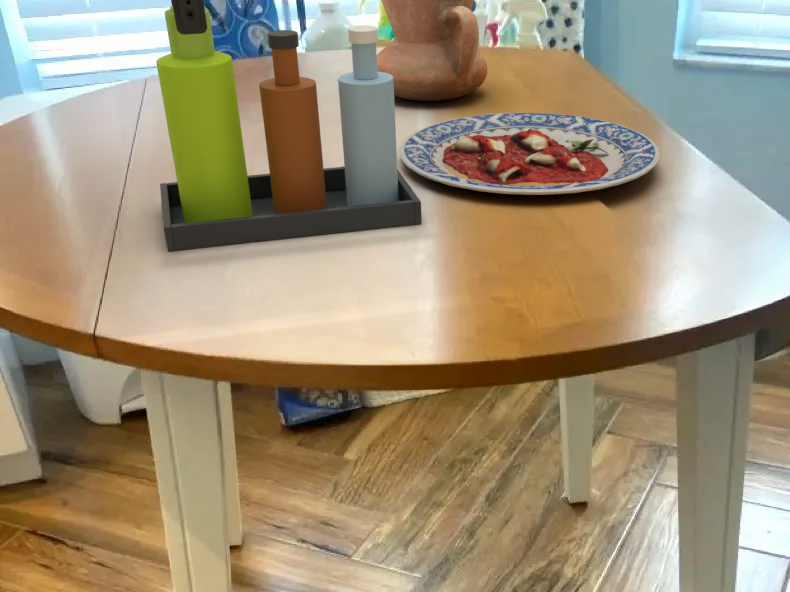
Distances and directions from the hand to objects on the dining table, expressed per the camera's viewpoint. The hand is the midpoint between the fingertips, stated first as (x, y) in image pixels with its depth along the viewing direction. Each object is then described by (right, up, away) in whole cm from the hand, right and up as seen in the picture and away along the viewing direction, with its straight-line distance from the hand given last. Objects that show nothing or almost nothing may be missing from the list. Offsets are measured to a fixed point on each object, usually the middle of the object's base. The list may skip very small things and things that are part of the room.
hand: (189, 22), depth 74 cm
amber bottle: (+7, -12, +11) cm, 17 cm away
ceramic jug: (+17, +12, +47) cm, 51 cm away
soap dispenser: (0, -13, +10) cm, 16 cm away
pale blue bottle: (+13, -11, +12) cm, 21 cm away
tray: (+6, -13, +11) cm, 18 cm away
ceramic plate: (+28, -5, +23) cm, 36 cm away
